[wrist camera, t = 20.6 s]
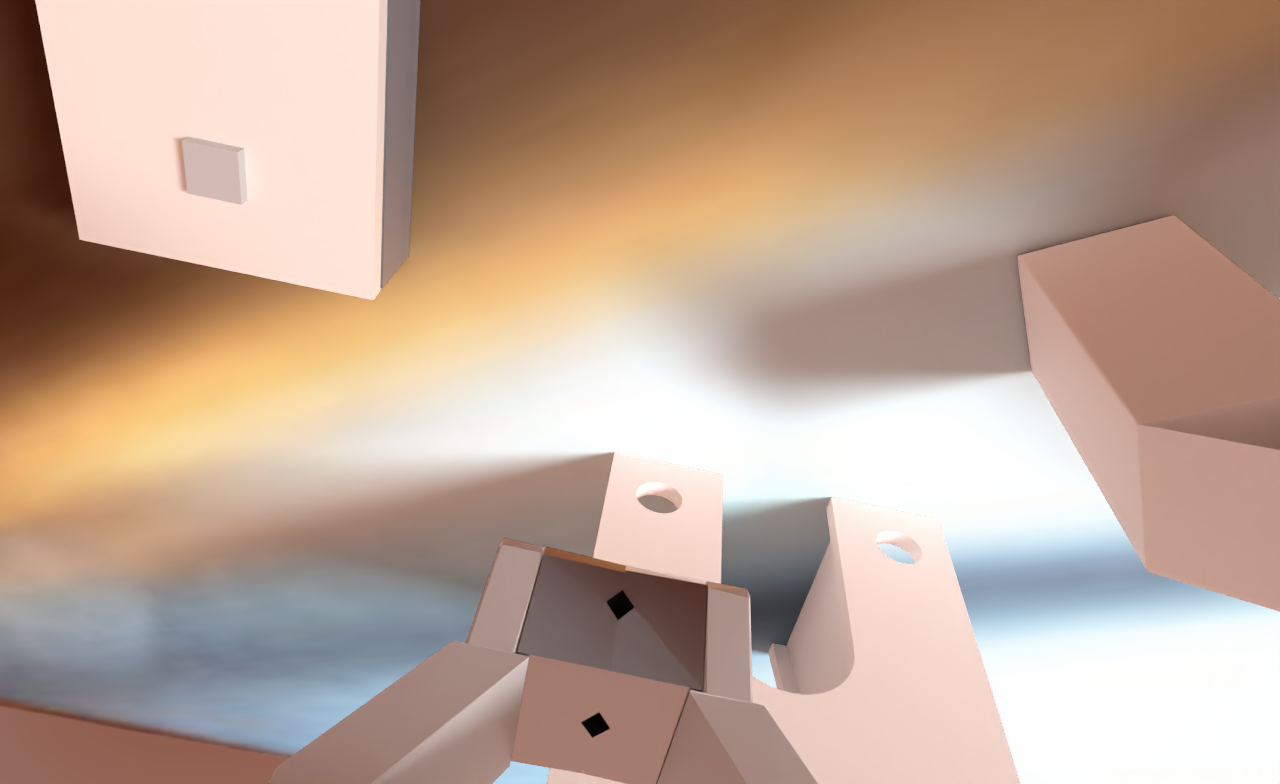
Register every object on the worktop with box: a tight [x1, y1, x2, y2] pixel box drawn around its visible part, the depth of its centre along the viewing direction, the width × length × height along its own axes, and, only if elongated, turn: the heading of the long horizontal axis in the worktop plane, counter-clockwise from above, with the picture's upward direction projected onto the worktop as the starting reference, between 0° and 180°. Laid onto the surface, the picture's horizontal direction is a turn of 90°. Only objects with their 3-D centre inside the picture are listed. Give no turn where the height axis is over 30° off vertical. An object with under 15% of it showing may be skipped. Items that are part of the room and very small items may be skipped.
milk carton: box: [1018, 215, 1280, 611], centre depth 34 cm, size 7×7×19 cm
